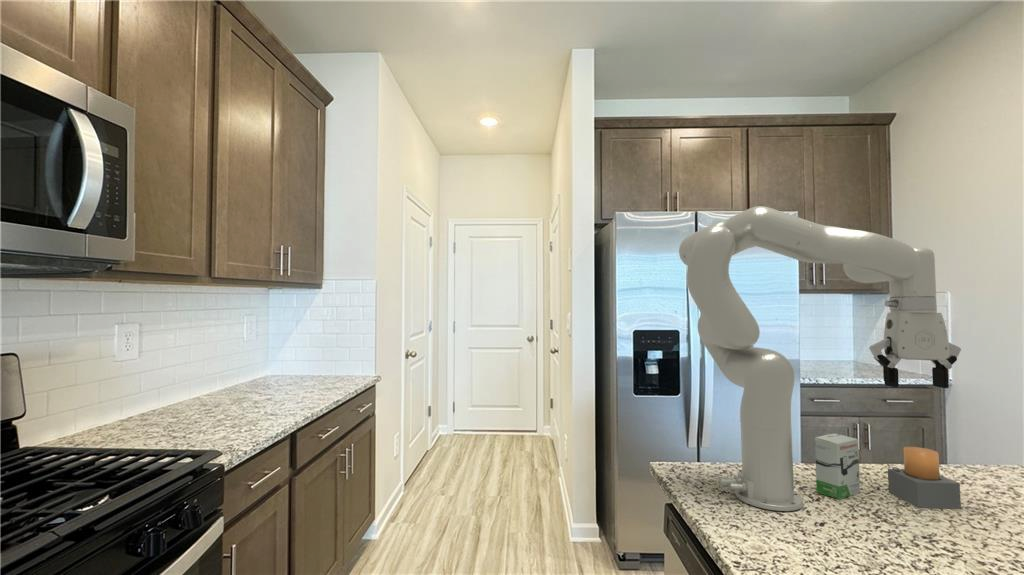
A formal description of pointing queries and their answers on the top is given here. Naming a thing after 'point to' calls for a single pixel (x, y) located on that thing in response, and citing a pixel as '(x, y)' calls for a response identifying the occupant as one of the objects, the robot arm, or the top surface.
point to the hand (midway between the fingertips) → (916, 386)
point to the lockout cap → (921, 463)
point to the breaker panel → (924, 490)
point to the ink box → (837, 465)
